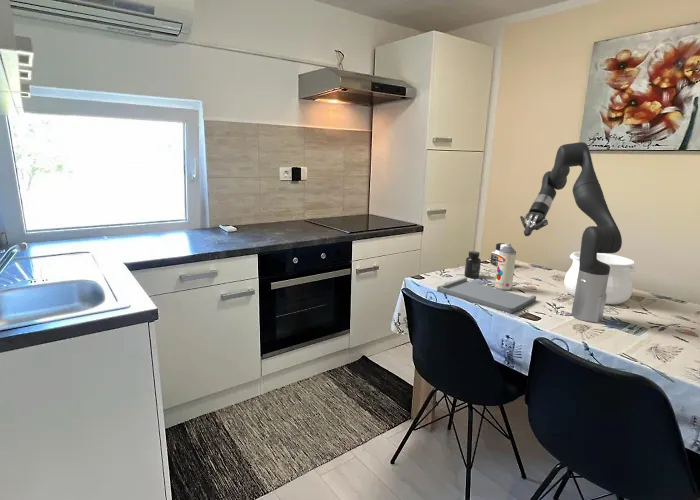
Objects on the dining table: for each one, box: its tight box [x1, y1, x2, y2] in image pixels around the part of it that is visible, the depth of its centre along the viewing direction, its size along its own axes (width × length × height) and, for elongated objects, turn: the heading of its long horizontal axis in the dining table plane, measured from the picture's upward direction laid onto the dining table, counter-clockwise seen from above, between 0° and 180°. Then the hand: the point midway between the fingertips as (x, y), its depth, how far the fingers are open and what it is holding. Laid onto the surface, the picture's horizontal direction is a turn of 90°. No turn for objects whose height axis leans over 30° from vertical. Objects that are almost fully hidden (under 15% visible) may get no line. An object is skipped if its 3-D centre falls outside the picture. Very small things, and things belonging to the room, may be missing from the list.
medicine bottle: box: [489, 242, 507, 268], centre depth 212 cm, size 7×7×12 cm
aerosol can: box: [494, 242, 517, 292], centre depth 173 cm, size 7×7×20 cm
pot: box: [563, 251, 637, 305], centre depth 168 cm, size 26×24×17 cm
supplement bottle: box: [464, 250, 482, 279], centre depth 190 cm, size 7×7×12 cm
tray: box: [436, 276, 537, 315], centre depth 164 cm, size 32×22×2 cm
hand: (526, 235), depth 182 cm, fingers closed
